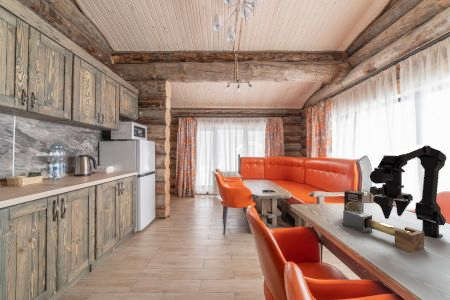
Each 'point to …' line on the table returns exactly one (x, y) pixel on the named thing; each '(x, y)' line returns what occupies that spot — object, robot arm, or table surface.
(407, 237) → the socket cradle
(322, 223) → the table surface
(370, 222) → the tube
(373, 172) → the robot arm
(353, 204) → the coffee box
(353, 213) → the sleeve
